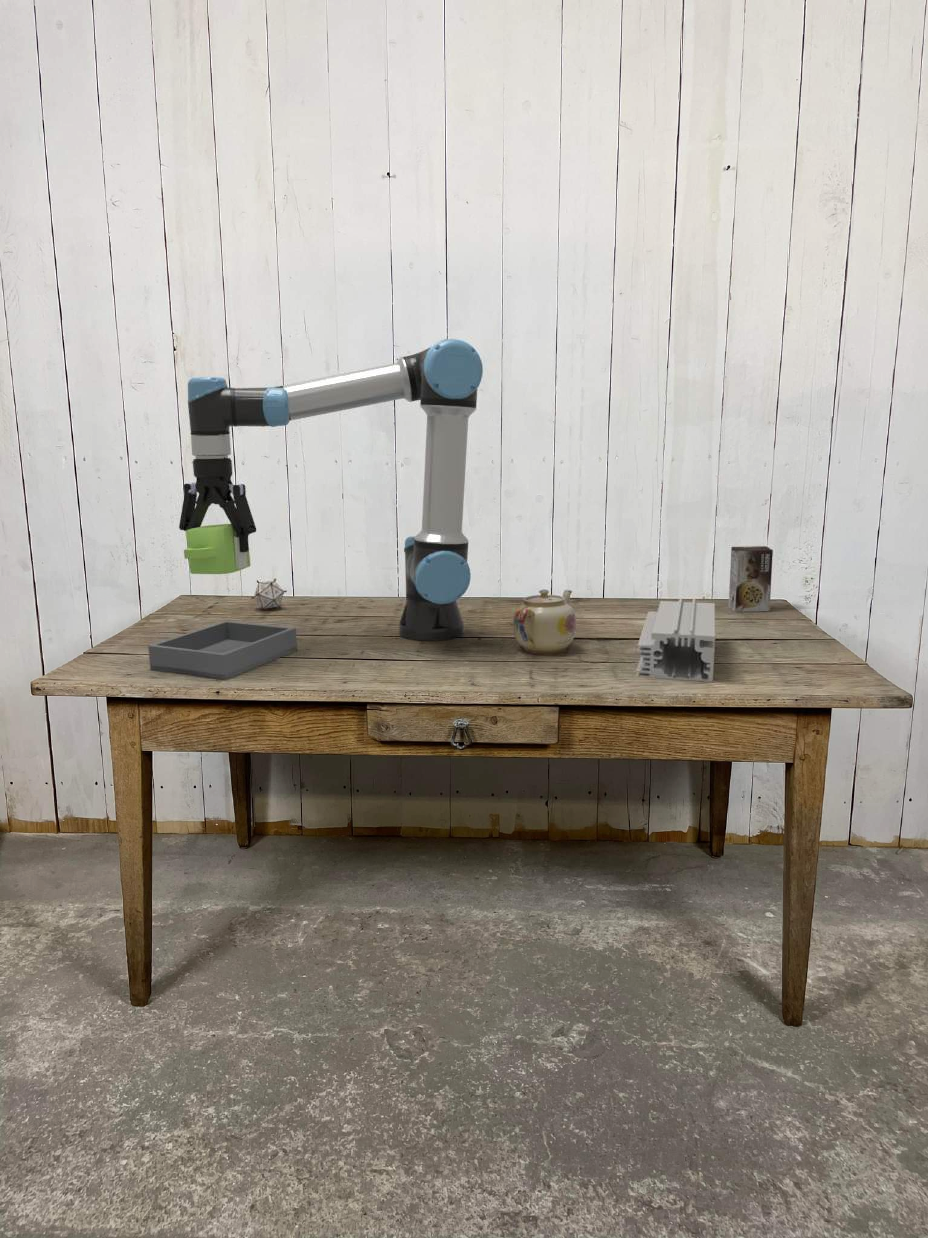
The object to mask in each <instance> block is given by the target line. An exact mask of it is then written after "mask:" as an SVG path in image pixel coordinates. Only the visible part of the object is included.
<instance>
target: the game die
mask: <svg viewBox="0 0 928 1238" xmlns="http://www.w3.org/2000/svg"><path fill="white" fill-rule="evenodd" d="M276 578H277V577H276ZM276 578H274V579H273V580H269V581H262V582H261V581H259V580H257V579H256V583H257V586H256V589H255V593H254V595H253V596H251V598H250V599H251V600H255V601H256V603H258V605H259V606H260V607H261V612H263V611H264V610H265V609H273V608H278V609H279V610H282V607H281V606H280V605H281V603H282V600H283V596H284V594H285V593H287V592H288V590H286V589H282V587H281V586H280V585H279V584H278V583H277V579H276Z"/></svg>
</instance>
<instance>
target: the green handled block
mask: <svg viewBox="0 0 928 1238" xmlns="http://www.w3.org/2000/svg"><path fill="white" fill-rule="evenodd" d="M235 535H237V534H236V532H235V530H234V528H233V526H232V525H231V523H219V524H211V525H204V526H202V525H201V526H200V527H197V528H193V529H189V530H186V531H185V536H186V546H187V547H186V548H185V549H183V555H184V559H187V560H188V563H189V573H190V575H191V574H192V575H226V574H232V573H236V572H239V571H243V570H244V569H247V568H249V567H251V557H250V556H251V555H250V549H249V550H248V552H246V553H247V567H246V568H242V569H236V562H235V548H234V537H236V536H235Z"/></svg>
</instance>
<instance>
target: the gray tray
mask: <svg viewBox="0 0 928 1238" xmlns="http://www.w3.org/2000/svg"><path fill="white" fill-rule="evenodd" d="M297 641H298V640H297V629H296V627H290V626H281V625H279V626H277V625H270V624H259V623H249V622H243V621H241V622H240V621H231V620H224V621H221V622H218V623H214V624H212V625H209V626H206V627H203V628H202V627H201V628H199V629H196V630H193V631H190V632H187V633H184V634H181V635H177V636H174V637H171V638H168V639H165V640H162V641H159V642H156V643H153V644H149V645H147V649H148V658H149V669H150V670H151V671H159V672H164V673H172V674H173V673H175V674H181V675H188V676H195V677H200V678H201V677H202V678H210V679H217V680H225V681H226V680H230V679H232V678H234V677H236V676H239V675H241V674H243V673H247V672H248V671H250V670H253V669H256V668H258V667H260V666H262V665H265V664H267V663H270V662H272V661H275V660H277V659H279V658H282V657H285V656H287V655H289V654H291V652H292V653H295V652H296V650H297V651H298V645H297V644H298V642H297ZM288 653H289V654H288Z"/></svg>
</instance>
